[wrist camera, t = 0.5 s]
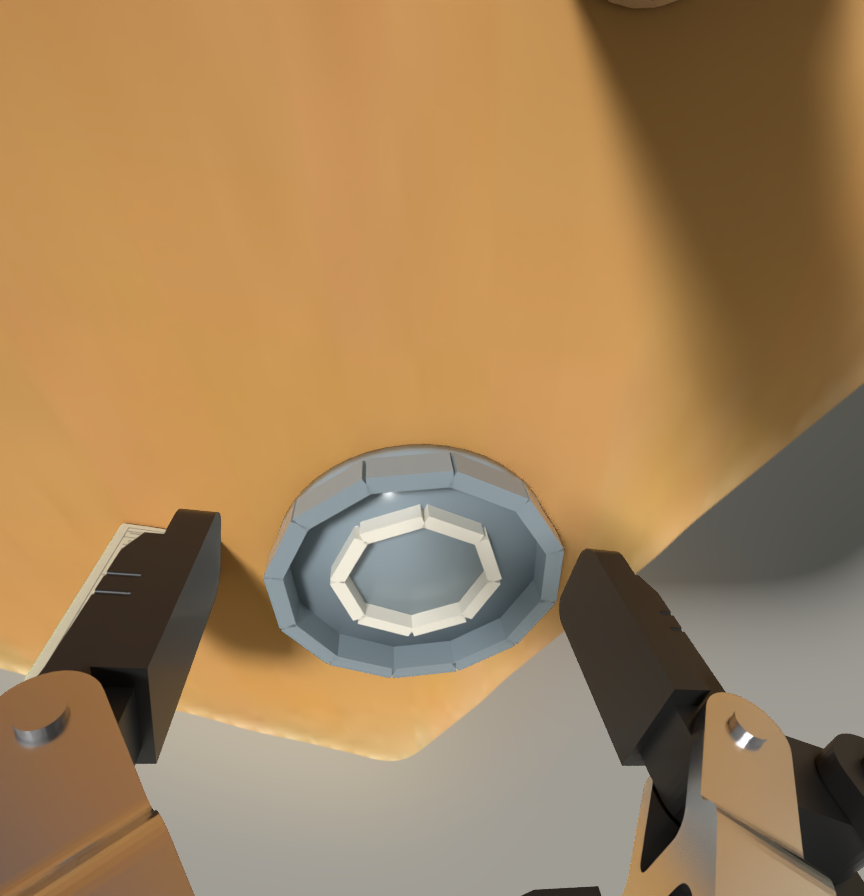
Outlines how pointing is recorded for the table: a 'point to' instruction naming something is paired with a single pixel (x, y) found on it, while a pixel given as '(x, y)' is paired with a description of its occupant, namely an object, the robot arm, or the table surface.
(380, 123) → the table surface
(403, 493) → the ring tray
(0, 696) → the robot arm
